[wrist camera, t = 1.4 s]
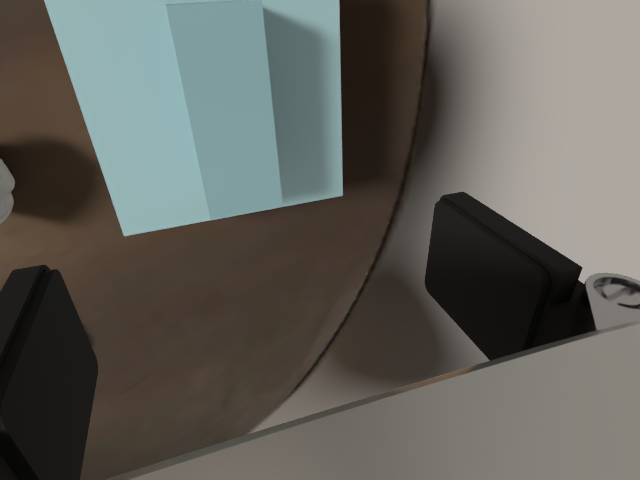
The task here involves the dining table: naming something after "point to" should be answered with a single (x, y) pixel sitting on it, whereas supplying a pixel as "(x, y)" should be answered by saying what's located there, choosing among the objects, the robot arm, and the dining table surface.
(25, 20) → the dining table surface
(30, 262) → the dining table surface
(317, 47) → the lid
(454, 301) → the robot arm
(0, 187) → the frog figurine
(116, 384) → the dining table surface
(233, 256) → the dining table surface
